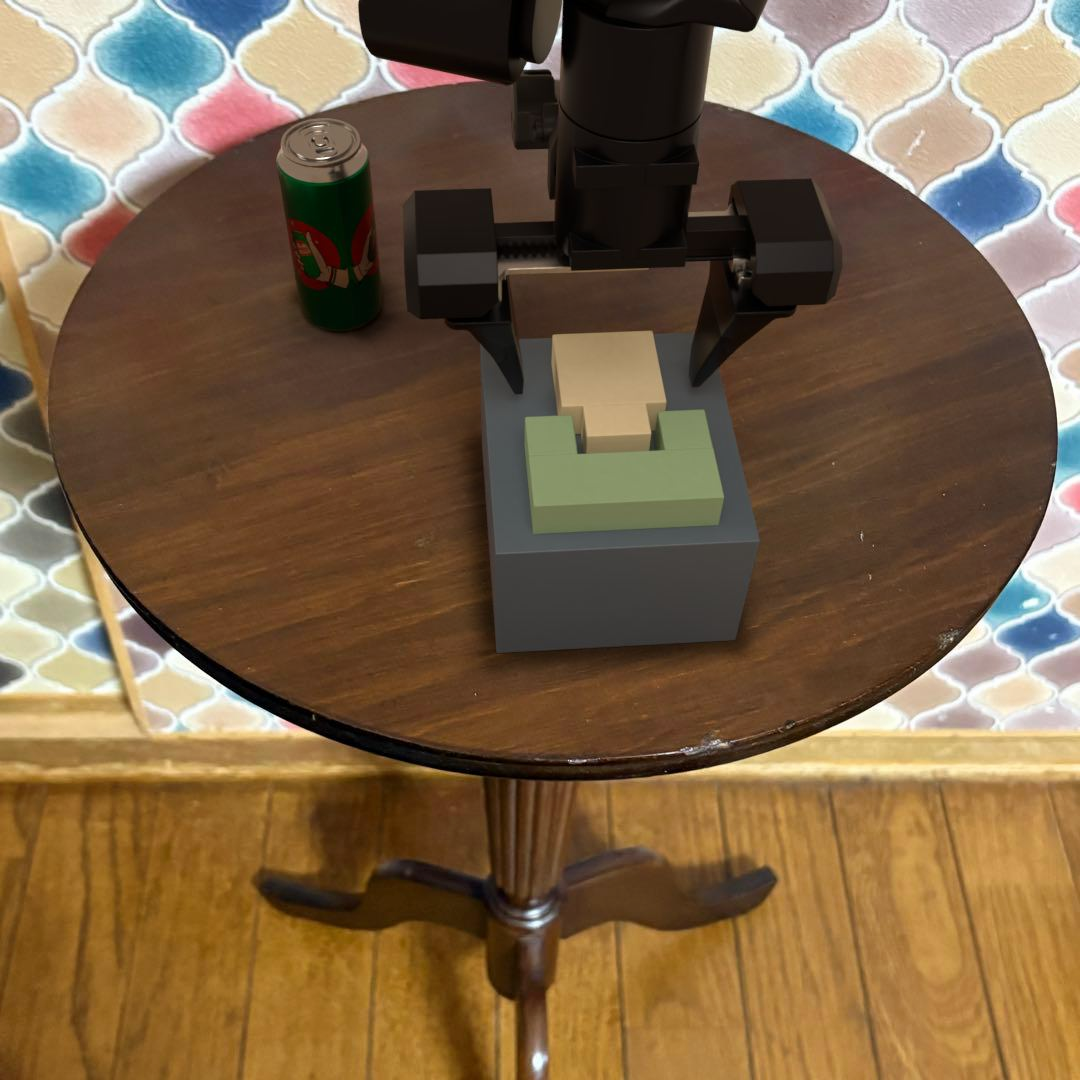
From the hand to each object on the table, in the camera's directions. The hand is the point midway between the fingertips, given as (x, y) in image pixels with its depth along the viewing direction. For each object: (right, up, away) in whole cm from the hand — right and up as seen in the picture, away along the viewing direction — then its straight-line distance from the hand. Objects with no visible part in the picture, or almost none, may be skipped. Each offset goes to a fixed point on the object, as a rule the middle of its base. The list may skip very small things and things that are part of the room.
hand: (606, 384), depth 63 cm
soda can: (-15, +6, +16) cm, 23 cm away
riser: (0, -8, +5) cm, 9 cm away
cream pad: (0, -1, +1) cm, 1 cm away
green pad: (0, -5, -3) cm, 6 cm away
